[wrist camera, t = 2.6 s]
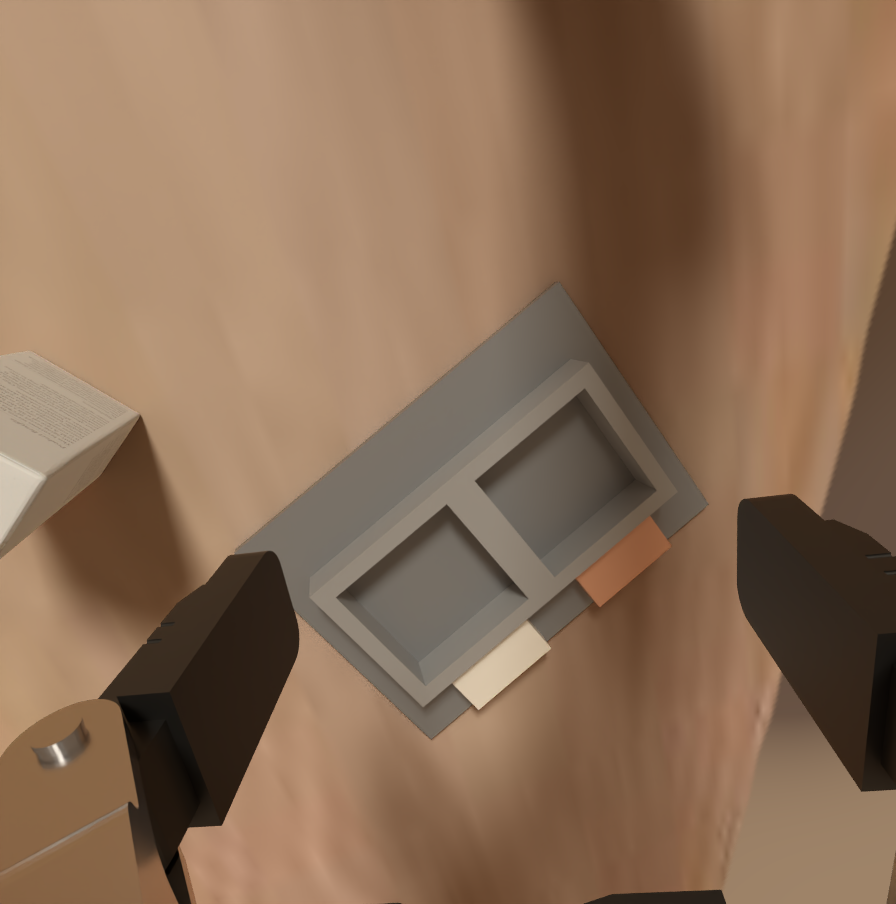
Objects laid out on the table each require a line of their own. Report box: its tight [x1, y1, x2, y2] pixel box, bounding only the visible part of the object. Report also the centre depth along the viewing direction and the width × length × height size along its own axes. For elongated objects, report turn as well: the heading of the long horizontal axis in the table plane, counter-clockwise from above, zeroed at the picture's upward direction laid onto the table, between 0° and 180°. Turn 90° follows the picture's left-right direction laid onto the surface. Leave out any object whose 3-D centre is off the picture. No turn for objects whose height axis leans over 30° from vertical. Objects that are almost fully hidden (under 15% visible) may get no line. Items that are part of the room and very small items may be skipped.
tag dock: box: [235, 282, 709, 739], centre depth 36 cm, size 24×18×3 cm
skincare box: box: [0, 351, 140, 559], centre depth 25 cm, size 6×4×12 cm
